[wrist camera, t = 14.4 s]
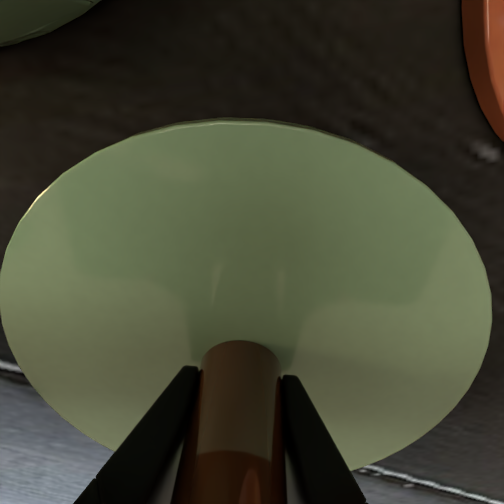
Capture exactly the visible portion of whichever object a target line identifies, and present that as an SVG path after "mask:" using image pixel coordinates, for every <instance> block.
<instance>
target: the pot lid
mask: <svg viewBox="0 0 504 504" xmlns="http://www.w3.org/2000/svg"><path fill="white" fill-rule="evenodd" d="M0 313H1V320H2V325H3V328H4V332H5V335H6V338H7V341H8V344H9V347H10V349H11V351H12V353H13V355H14V357H15V359H16V361H17V363H18V365H19V367H20V369H21V370H22V372H23V373H24V375H25V376H26V378H27V379H28V381H29V382H30V384H31V385H32V387H33V388H34V389H35V390H36V391H37V392H38V393H39V395H40V396H41V397H42V398H43V399H44V400H45V402H46V403H47V404H48V405H49V406H50V407H52V408H53V409H54V410H55V411H56V412H57V413H58V414H59V415H60V416H61V417H62V418H63V419H65V420H66V421H67V422H69V423H70V424H71V425H73V426H74V427H75V428H76V429H78V430H79V431H80V432H82V433H83V434H85V435H87V436H88V437H90V438H91V439H93V440H95V441H96V442H98V443H99V444H101V445H103V446H105V447H107V448H109V449H111V450H113V451H114V452H115V451H116V450H117V449H118V447H119V446H120V445H121V444H122V442H123V441H124V440H125V439H126V437H127V436H128V435H129V434H130V432H131V431H132V430H133V429H134V427H135V426H136V425H137V423H138V422H139V421H140V420H141V418H142V417H143V416H144V415H145V413H146V412H147V411H148V410H149V408H150V407H151V406H152V405H153V403H154V402H155V401H156V400H157V398H158V397H159V396H160V395H161V393H162V392H163V391H164V390H165V388H166V387H167V386H168V385H169V383H170V382H171V381H172V380H173V378H174V377H175V376H176V375H177V373H178V372H179V371H180V370H181V368H182V367H183V366H185V365H190V366H197V367H198V369H199V373H198V378H197V382H196V387H195V391H194V396H193V401H192V405H191V410H190V414H189V419H188V423H187V427H186V432H185V436H184V441H183V446H182V450H181V455H180V459H179V464H178V468H177V473H176V477H175V482H174V487H173V491H172V496H171V500H170V504H288V495H287V474H286V453H285V433H284V414H283V393H282V377H283V375H285V374H287V375H296V376H298V378H299V379H300V381H301V383H302V385H303V386H304V388H305V390H306V392H307V394H308V395H309V397H310V399H311V401H312V403H313V404H314V406H315V408H316V410H317V412H318V413H319V415H320V417H321V419H322V421H323V423H324V424H325V426H326V428H327V430H328V432H329V433H330V435H331V437H332V439H333V441H334V442H335V444H336V446H337V448H338V450H339V451H340V453H341V455H342V457H343V459H344V461H345V462H346V464H347V466H348V468H349V470H350V471H352V470H355V469H359V468H362V467H364V466H367V465H369V464H372V463H374V462H377V461H379V460H382V459H384V458H386V457H388V456H390V455H392V454H394V453H396V452H398V451H400V450H402V449H403V448H405V447H406V446H408V445H410V444H411V443H413V442H414V441H416V440H418V439H419V438H421V437H422V436H423V435H425V434H426V433H427V432H428V431H430V430H431V429H432V428H434V427H435V426H436V425H437V424H439V423H440V422H441V421H442V420H443V419H444V418H445V417H446V416H447V415H448V414H449V413H450V412H451V411H452V410H453V409H454V408H455V406H456V405H457V404H458V403H459V401H460V400H461V399H462V397H463V396H464V395H465V393H466V392H467V391H468V389H469V388H470V386H471V384H472V382H473V381H474V379H475V377H476V375H477V373H478V372H479V370H480V368H481V365H482V362H483V359H484V356H485V354H486V351H487V348H488V345H489V338H490V332H491V326H492V298H491V291H490V287H489V282H488V278H487V274H486V269H485V266H484V264H483V261H482V259H481V257H480V255H479V253H478V250H477V248H476V246H475V244H474V241H473V239H472V238H471V236H470V235H469V233H468V232H467V231H466V229H465V228H464V226H463V225H462V223H461V222H460V221H459V219H458V218H457V216H456V215H455V213H454V212H453V211H452V210H451V209H450V208H449V207H448V206H447V205H446V204H445V203H444V202H443V201H442V200H441V199H440V198H439V197H438V196H437V195H436V194H435V193H434V192H433V191H432V190H431V189H430V188H429V187H428V186H427V185H426V184H424V183H423V182H422V181H420V180H419V179H418V178H416V177H415V176H413V175H412V174H411V173H409V172H408V171H406V170H405V169H403V168H402V167H401V166H399V165H398V164H396V163H395V162H394V161H392V160H391V159H389V158H388V157H386V156H384V155H382V154H380V153H378V152H376V151H374V150H372V149H370V148H367V147H365V146H363V145H361V144H359V143H357V142H355V141H353V140H351V139H348V138H345V137H342V136H339V135H336V134H333V133H330V132H327V131H323V130H320V129H317V128H314V127H311V126H306V125H300V124H294V123H288V122H283V121H277V120H271V119H258V118H226V117H221V118H212V119H203V120H194V121H185V122H178V123H174V124H170V125H166V126H163V127H159V128H155V129H151V130H147V131H143V132H140V133H137V134H135V135H132V136H130V137H128V138H125V139H123V140H121V141H118V142H116V143H114V144H111V145H109V146H107V147H105V148H102V149H100V150H99V151H97V152H95V153H93V154H92V155H90V156H89V157H87V158H85V159H84V160H82V161H81V162H79V163H78V164H76V165H75V166H73V167H71V168H70V169H68V170H67V171H65V172H64V173H62V174H61V175H60V176H59V177H58V178H57V179H56V180H55V181H54V182H53V183H52V184H51V185H49V186H48V187H47V188H46V189H45V190H44V191H43V192H42V193H41V194H40V195H39V196H38V197H37V198H36V199H35V201H34V202H33V203H32V205H31V206H30V207H29V209H28V210H27V212H26V213H25V214H24V216H23V217H22V218H21V220H20V221H19V223H18V225H17V227H16V229H15V231H14V233H13V236H12V238H11V240H10V242H9V244H8V246H7V249H6V253H5V256H4V260H3V264H2V268H1V272H0Z"/></svg>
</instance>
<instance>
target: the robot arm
mask: <svg viewBox="0 0 504 504" xmlns="http://www.w3.org/2000/svg"><path fill="white" fill-rule="evenodd" d="M198 373H199V369H198V367H197V366H190V365H185V366H183V367H182V368H181V370H180V371H179V372H178V373H177V375H176V376H175V377H174V378H173V380H172V381H171V382H170V383H169V385H168V386H167V387H166V388H165V390H164V391H163V392H162V393H161V395H160V396H159V397H158V398H157V400H156V401H155V402H154V403H153V405H152V406H151V407H150V408H149V410H148V411H147V412H146V413H145V415H144V416H143V417H142V418H141V420H140V421H139V422H138V423H137V425H136V426H135V427H134V429H133V430H132V431H131V432H130V434H129V435H128V436H127V437H126V439H125V440H124V441H123V442H122V444H121V445H120V446H119V447H118V449H117V450H116V451H115V452H114V454H113V455H112V456H111V457H110V459H109V460H108V461H107V462H106V464H105V465H104V466H103V467H102V469H101V470H100V471H99V472H98V474H97V475H96V479H95V478H94V479H93V480H92V481H91V482H90V484H89V485H88V486H87V487H86V489H85V490H84V491H83V492H82V494H81V495H80V496H79V497H78V498H77V500H76V501H75V502H74V503H73V504H170V500H171V496H172V491H173V487H174V482H175V477H176V473H177V468H178V464H179V459H180V455H181V450H182V446H183V441H184V436H185V432H186V427H187V423H188V419H189V414H190V410H191V405H192V401H193V396H194V391H195V387H196V382H197V378H198ZM282 393H283V414H284V433H285V453H286V474H287V495H288V504H368V503H365V502H366V499H365V497H364V495H363V493H362V491H361V489H360V488H359V486H358V484H357V482H356V480H355V479H354V477H353V475H352V473H351V471H350V470H349V468H348V466H347V464H346V462H345V461H344V459H343V457H342V455H341V453H340V451H339V450H338V448H337V446H336V444H335V442H334V441H333V439H332V437H331V435H330V433H329V432H328V430H327V428H326V426H325V424H324V423H323V421H322V419H321V417H320V415H319V413H318V412H317V410H316V408H315V406H314V404H313V403H312V401H311V399H310V397H309V395H308V394H307V392H306V390H305V388H304V386H303V385H302V383H301V381H300V379H299V378H298V376H296V375H287V374H285V375H283V377H282Z"/></svg>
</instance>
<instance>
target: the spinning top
mask: <svg viewBox="0 0 504 504" xmlns="http://www.w3.org/2000/svg"><path fill="white" fill-rule="evenodd" d="M462 24H463V41H464V49H465V54H466V60H467V65H468V70H469V75H470V79H471V82H472V85H473V88H474V90H475V93H476V96H477V99H478V102H479V104H480V107H481V109H482V111H483V113H484V114H485V116H486V118H487V120H488V121H489V123H490V125H491V127H492V128H493V130H494V132H495V133H496V134H497V135H498V136H499V138H500V139H501V140H502V141H503V142H504V0H462Z"/></svg>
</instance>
